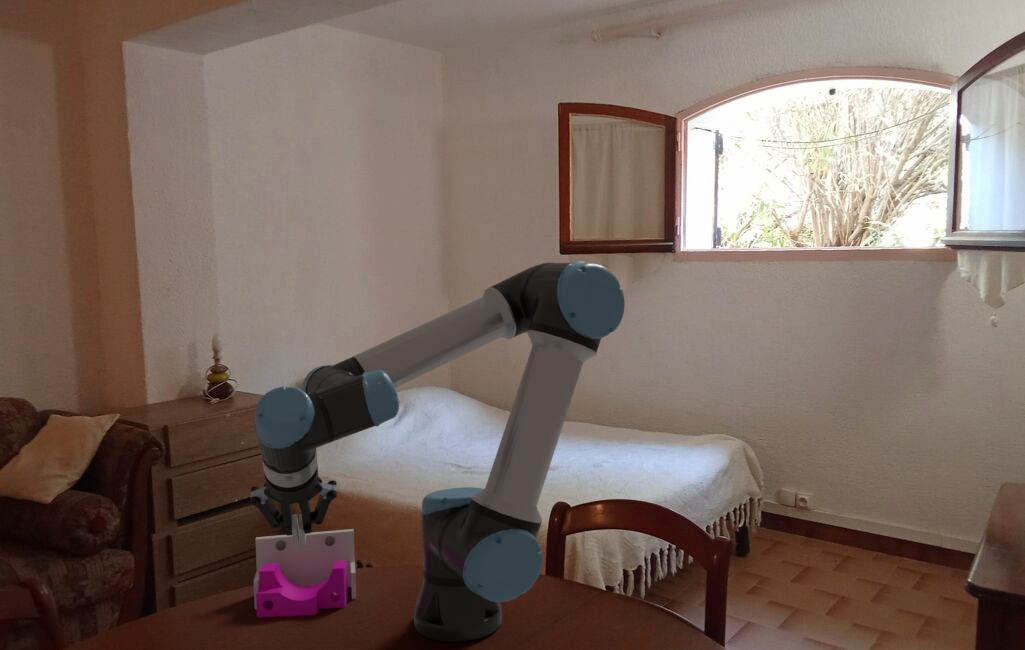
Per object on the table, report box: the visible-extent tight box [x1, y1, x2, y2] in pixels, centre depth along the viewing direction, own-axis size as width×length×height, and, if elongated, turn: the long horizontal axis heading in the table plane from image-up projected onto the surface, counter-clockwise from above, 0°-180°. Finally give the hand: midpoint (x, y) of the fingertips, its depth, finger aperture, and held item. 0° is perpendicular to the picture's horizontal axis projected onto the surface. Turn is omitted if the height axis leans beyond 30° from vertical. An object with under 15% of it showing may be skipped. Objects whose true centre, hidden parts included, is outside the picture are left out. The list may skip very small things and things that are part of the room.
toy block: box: [256, 560, 349, 618], centre depth 142 cm, size 15×6×8 cm, turn 94°
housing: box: [253, 528, 357, 610], centre depth 146 cm, size 7×18×11 cm, turn 103°
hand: (300, 539), depth 131 cm, fingers closed
